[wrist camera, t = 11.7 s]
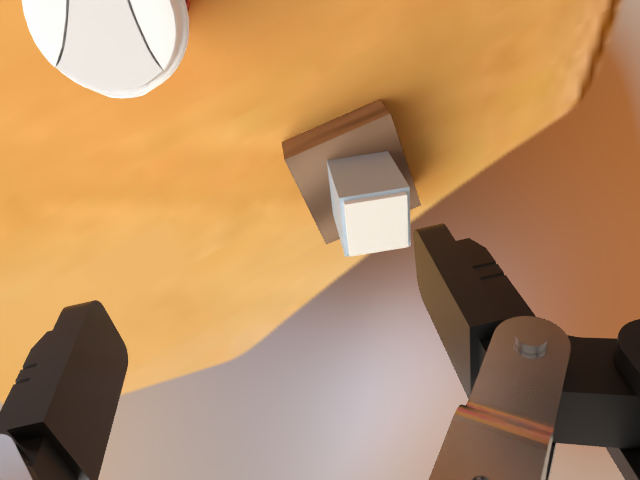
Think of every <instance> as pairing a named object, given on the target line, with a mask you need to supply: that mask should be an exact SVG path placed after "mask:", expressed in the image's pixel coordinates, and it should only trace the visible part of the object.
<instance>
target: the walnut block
mask: <svg viewBox="0 0 640 480" xmlns="http://www.w3.org/2000/svg"><path fill="white" fill-rule="evenodd" d="M282 147H283V153H284V159H285V162H286V164H287V166H288V168H289V170H290V172H291V174H292V176H293V178H294V180H295V182H296V184H297V186H298V188H299V190H300V192H301V194H302V196H303V198H304V200H305V202H306V204H307V206H308V208H309V210H310V212H311V214H312V216H313V218H314V220H315V222H316V225H317V227H318V229H319V231H320V233H321V235H322V237H323V239H324V241H325V243H326V244H328V243H331V242H333V241H336V240H338V239H340V237H339V234H338V230H337V226H336V223H335V219H334V216H333V210H332V202H331V193H330V184H329V175H328V167H327V160H333V159H340V158H346V157H353V156H359V155H366V154H372V153H379V152H385V151H388V152H389V154H390V155H391V157H392V159H393V160H394V162H395V164H396V165H397V167H398V169H399V170H400V172H401V174H402V175H403V177H404V179H405V180H406V182H407V184H408V185H409V187H410V210H411V209H413V208H416V207H418V206H420V205H421V203H420V200H419V197H418V194H417V191H416V188H415V185H414V182H413V179H412V176H411V173H410V170H409V167H408V164H407V161H406V158H405V155H404V152H403V149H402V146H401V143H400V140H399V137H398V134H397V131H396V128H395V125H394V122H393V119H392V116H391V113H390V112H389V111H388V109H387V108H386V107H385V105H384V104H383V103H382V102H381V100H380V99H379V100H377V101H375V102H373V103H370V104H368V105H366V106H364V107H361V108H359V109H357V110H354V111H352V112H350V113H348V114H345V115H343V116H341V117H339V118H336V119H334V120H332V121H329V122H327V123H325V124H323V125H320V126H318V127H316V128H314V129H311V130H309V131H307V132H304V133H302V134H300V135H298V136H295V137H293V138H291V139H289V140H286V141H284V142H282Z"/></svg>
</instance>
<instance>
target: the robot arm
mask: <svg viewBox="0 0 640 480" xmlns="http://www.w3.org/2000/svg"><path fill="white" fill-rule="evenodd" d="M413 238H414V249H415V260H416V271H417V280H418V286H419V290H420V293H421V296H422V299H423V302H424V304H425V306H426V308H427V311H428V313H429V315H430V316H431V319H432V321H433V323H434V326H435V328H436V330H437V332H438V334H439V336H440V339H441V341H442V343H443V345H444V347H445V349H446V351H447V354H448V356H449V358H450V360H451V362H452V364H453V366H454V369H455V371H456V373H457V375H458V377H459V379H460V382H461V384H462V386H463V388H464V390H465V392H466V394H467V397H468V399H469V400H468V403H467V404H466V406H465V405H460V406H459V407H458V408H457V410H456V412H455V414H454V416H453V419H452V421H451V424H450V427H449V429H448V432H447V434H446V437H445V439H444V442H443V445H442V447H441V450H440V452H439V455H438V458H437V460H436V462H435V465H434V468H433V470H432V473H431V475H430V478H429V480H549V477H550V473H551V468H552V463H553V458H554V453H555V448H556V444H557V443H565V444H577V445H589V446H600V447H606V448H607V450H608V452H609V454H610V455H611V457H612V458H613V460H614V462H615V464H616V465H617V467H618V468H619V470H620V472H621V473H622V475H623V477H624V478H625V480H640V319H639V320H635V321H632V322H629V323H628V324H626V325H624V326H623V327H622V329H621V330H620V332H619V334H618V339H607V338H606V339H605V338H580V337H574V336H568V335H566V333H565V332H564V331H563V330H562V329H561V328H560V327H559V326H557V325H556V324H554V323H552V322H550V321H548V320H545V319H542V318H539V317H536V316H535V315H534V313H533V312H532V311H531V309H530V308H529V307H528V305H527V304H526V302H525V301H524V300H523V298H522V297H521V296H520V294H519V293H518V292H517V290H516V289H515V287H514V286H513V285H512V283H511V282H510V281H509V279H508V278H507V276H506V275H505V276H504V273H503V271H502V270H501V268H500V267H499V265H498V264H496V261H495V260H494V259H493V257H492V256H491V254H490V253H489V252H488V250H487V249H486V248H485V247H483V246H482V245H479V244H478V243H476V242H475V241H473V240H471V239H470V238H468V239H464V240H459V241H455V239H454V238H453V236H452V234H451V233H450V231H449V230H448V228H447V227H446V225H445V224H439V225H434V226H430V227H425V228H420V229H416V230H414V232H413ZM127 367H128V354H127V349H126V346H125V343H124V341H123V340H122V338H121V336H120V334H119V333H118V331H117V329H116V327H115V326H114V324H113V322H112V320H111V319H110V317H109V315H108V313H107V312H106V310H105V308H104V307H103V305H102V304H101V303H100V302H99V301H96V300H95V301H91V302H86V303H82V304H77V305H73V306H68V307H65V308H64V309H63V310H62V312H61V314H60V316H59V318H58V320H57V322H56V324H55V327H54V329H53V331H48V332H47V333H46V334H45V335H44V336H43V337H42V338H41V339H40V340H39V341H38V342H37V343H36V344H35V346H34V347H33V348H32V349H31V351H30V353H29V355H28V357H27V359H26V361H25V363H24V365H23V370H21V371H20V373H19V375H18V377H17V379H16V384H14V385H13V387H12V389H11V391H10V393H9V395H8V397H7V399H6V401H5V403H4V405H3V407H2V409H1V411H0V480H98V477H99V473H100V470H101V466H102V462H103V458H104V454H105V451H106V447H107V443H108V439H109V435H110V432H111V427H112V424H113V420H114V416H115V413H116V409H117V405H118V401H119V397H120V394H121V390H122V386H123V382H124V378H125V375H126V371H127Z"/></svg>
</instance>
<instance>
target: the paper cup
mask: <svg viewBox="0 0 640 480" xmlns="http://www.w3.org/2000/svg"><path fill="white" fill-rule="evenodd" d="M22 4H23V10H24V15H25V19H26V22H27V25H28V28H29V31H30V33H31V35H32V37H33V39H34V41H35V43H36V45H37V46H38V48H39V49H40V51H41V52H42V54H43V55H44V56H45V57H46V59H47V60H48V61H49V62H50V63H51V64H52V65H53V66H54V67H55V68H57V69H58V70H60V71H61V72H62V73H63V74H64V75H66V76H67V77H69V78H70V79H71V80H73V81H75V82H76V83H78V84H80V85H82V86H84V87H86V88H89V89H91V90H93V91H95V92H98V93H100V94H103V95H106V96H108V97H113V98H133V97H138V96H142V95H145V94H146V93H148V92H149V91H151V90H152V89H154V88H155V87H157V86H159V85H160V84H162V83H163V82H164V81H166V80H167V79H168V78H169V77H170V76H171V75H172V74H173V73H174V71H175V70H176V69H177V67H178V66H179V64H180V62H181V60H182V58H183V56H184V53H185V50H186V47H187V43H188V37H189V17H188V10H189V5H190V0H22Z"/></svg>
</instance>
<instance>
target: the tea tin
mask: <svg viewBox="0 0 640 480" xmlns="http://www.w3.org/2000/svg"><path fill="white" fill-rule="evenodd" d="M327 167H328V175H329V184H330V193H331V202H332V210H333V216H334V219H335V223H336V226H337V230H338V234H339V237H340V241H341V244H342V248H343V251H344V255H345V257H346V256H356V255H362V254H368V253H374V252H381V251H386V250H392V249H398V248H405V247H408V246H410V187H409V185H408V184H407V182H406V180H405V179H404V177H403V175H402V174H401V172H400V170H399V169H398V167H397V165H396V164H395V162H394V160H393V159H392V157H391V155H390V154H389V152H388V151H385V152H379V153H372V154H366V155H359V156H353V157H346V158H340V159H333V160H327Z"/></svg>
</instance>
